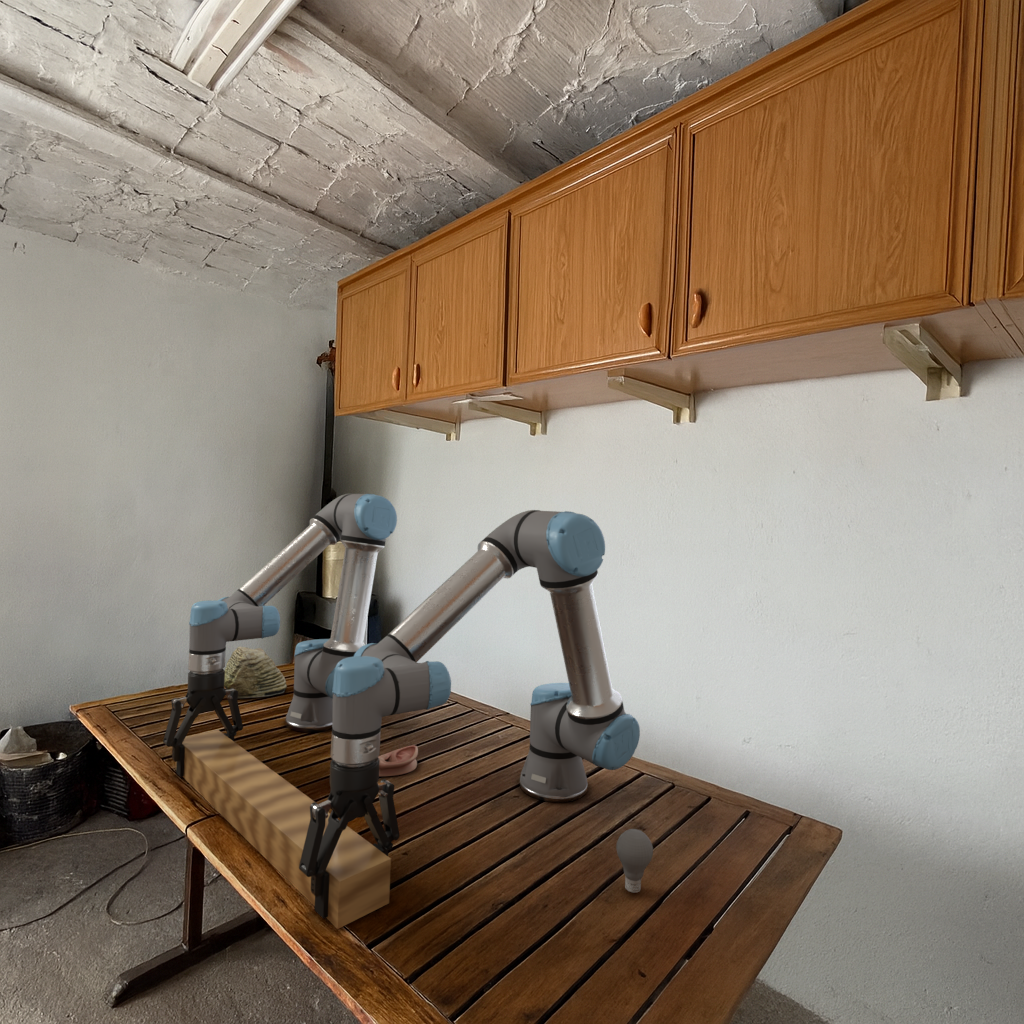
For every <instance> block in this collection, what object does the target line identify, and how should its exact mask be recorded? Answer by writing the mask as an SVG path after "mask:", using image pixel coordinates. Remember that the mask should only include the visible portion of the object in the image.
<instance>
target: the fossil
mask: <svg viewBox="0 0 1024 1024" xmlns="http://www.w3.org/2000/svg"><path fill="white" fill-rule="evenodd" d="M224 671H225V682H224V689H225V690H230V689H231V688H234V689H235V690H237V691H238V698H237V699H250V698H264V697H271V696H275V695H281V694H284V693H285V691H286V689H287V687H288V686H287V680H286V678H285V676H284V674H283V673H282V672H281V669H279V668H278V667H277V665H276V663H275V662H274V660H273V659H272V658H271V657H270V656H269V655H268V654H267V653H266V652H265V650H264V649H263V648H260V647H258V648H251V647H247V646H246V647H245V646H238V647H237V648H236V649H235V650H233V651H232V653H231V656H230V657H229V659H228V660H227V663H226V664H225V667H224Z"/></svg>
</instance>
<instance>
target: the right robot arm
mask: <svg viewBox="0 0 1024 1024" xmlns="http://www.w3.org/2000/svg"><path fill="white" fill-rule="evenodd" d="M605 555H606V541H605V537H604V534H603V531H602V530H601V527H600V526H599V524H598V523H597V522H596V521H595V520H594V519H592V518H591V517H589V516H587V515H585V514H582V513H577V512H574V511H567V510H565V511H556V510H555V511H554V510H540V509H531V510H529V509H528V510H525V511H522V512H519V513H516V514H515V515H513V516H511V517H509V518H508V519H507V520H505V521H504V522H502V523H501V524H499V526H497V527H495V528H494V529H493V530H492V531H491V532H489V533H488V534H487V536H485V537H484V538H483V539H482V540H481V541H479V543H478V544H477V551H476V552H475V553H473V555H472V556H471V557H470V558H468V559H467V561H465V562H464V563H463V564H462V565H461V566H460V567H459V568H458V569H457V570H456V571H454V572H453V573H452V575H450V576H449V577H448V578H447V579H446V580H445V581H444V582H442V584H441V585H440V586H439V587H437V588H436V589H435V590H434V591H433V592H432V593H431V594H430V595H429V596H428V597H427V598H426V599H424V600H423V601H422V602H421V604H419V605H418V606H417V607H416V608H414V610H413V611H412V612H411V613H409V614H408V615H407V616H406V617H405V618H404V619H403V620H402V621H401V622H399V623H398V624H397V625H396V626H395V627H394V628H393V629H392V630H391V631H390V632H389V633H388V634H387V635H385V637H383V638H382V639H381V640H380V641H379V642H378V643H376V642H375V643H374V642H371V643H367V644H366V643H365V645H364V646H362V647H360V648H359V649H358V650H357V651H356V653H355V655H354V657H348V658H345V659H342V660H341V661H339V662H338V663H337V665H336V668H335V674H334V681H333V688H332V693H333V715H332V729H331V739H330V759H331V760H330V764H329V786H330V788H329V789H330V792H329V794H328V796H327V799H326V800H324V801H322V802H319V803H317V802H316V801H314V803H312V804H311V805H310V818H311V819H310V823H309V827H308V831H307V835H306V839H305V843H304V848H303V852H302V856H301V860H300V864H299V869H300V870H301V871H302V872H303V873H304V874H305V875H306V876H307V877H311V892H312V894H313V895H314V896H315V907H314V911H315V912H316V914H318V915H319V916H320V917H321V918H322V919H323V920H324V919H327V918H326V917H328V900H329V873H328V872H327V871H326V868H327V866H328V864H329V861H330V859H331V857H332V854H333V852H334V850H335V847H336V845H337V842H338V840H339V838H340V835H341V833H342V831H343V830H345V829H346V827H347V826H348V824H349V823H350V822H352V821H354V820H356V819H359V818H364V820H365V822H366V824H367V826H368V828H369V830H370V832H371V834H372V836H373V838H374V840H375V842H376V843H373V844H372V845H373V846H375V847H376V848H377V849H379V850H380V851H381V852H383V853H384V854H385V855H387V856H388V857H389V851H391V850H392V849H393V847H394V843H392V842H393V841H398V840H399V838H400V836H401V835H400V829H399V824H398V818H397V812H396V805H395V800H394V794H395V784H393V783H392V782H390V781H389V780H387V779H386V778H383V779H381V780H380V776H379V765H380V760H379V758H378V756H380V754H381V735H382V734H381V731H382V720H383V717H390V716H394V715H400V714H407V713H412V712H418V711H423V710H427V711H428V710H430V709H432V708H436V707H439V706H443V705H445V704H446V703H447V702H448V701H449V699H450V696H451V693H452V678H451V675H450V672H449V669H448V668H447V666H446V664H444V663H443V662H442V661H434V660H433V661H429V660H426V661H423V662H419V660H421V659H422V658H423V657H424V656H425V655H426V654H427V653H428V652H429V651H430V650H431V649H432V648H433V647H434V646H436V644H437V643H438V642H440V641H441V640H442V638H443V637H445V635H446V634H448V633H449V631H450V630H451V629H453V627H455V626H456V625H457V624H458V623H459V622H460V621H461V620H462V619H463V618H464V617H465V616H466V615H467V614H468V613H469V612H470V611H471V610H472V609H473V608H475V606H476V605H477V604H479V602H480V601H482V599H483V598H484V597H486V596H487V595H488V594H489V593H490V592H491V590H493V589H494V587H496V586H497V585H498V584H499V583H500V582H501V581H502V580H503V579H511V578H512V577H513V576H514V575H515V574H516V573H518V571H520V570H522V569H525V568H530V567H531V568H535V569H536V571H537V572H536V573H537V577H538V581H539V585H540V587H541V588H542V589H544V590H546V591H547V592H549V595H550V600H551V604H552V609H553V614H554V619H555V624H556V628H557V633H558V638H559V643H560V648H561V653H562V658H563V662H564V667H565V673H566V677H567V681H568V682H551V683H549V682H548V683H544V684H540V685H538V686H536V687H535V688H534V689H533V690H532V693H531V702H530V717H529V718H530V720H529V747H528V748H529V749H528V753H527V756H526V759H525V761H524V764H523V766H522V768H521V771H520V775H519V776H520V777H519V787H520V790H522V791H523V792H524V794H526V795H528V796H530V797H532V798H533V799H537V800H539V801H544V802H550V803H551V802H552V803H567V802H572V801H576V800H578V799H581V798H583V797H584V796H585V795H586V794H587V792H588V777H587V774H586V770H585V766H584V762H583V760H585V761H587V762H589V763H590V764H592V765H594V766H595V767H600V768H603V769H605V770H607V771H615V770H619V769H621V768H622V767H624V766H625V765H626V764H627V763H628V762H629V761H630V760H631V759H632V757H633V755H634V754H635V751H636V750H637V747H638V745H639V743H640V737H641V736H640V735H641V729H640V724H639V721H638V720H637V719H636V718H635V716H633V715H632V714H630V713H626V711H625V707H624V702H623V697H622V694H621V693H620V692H619V691H618V690H616V689H614V687H613V684H612V678H611V674H610V668H609V663H608V658H607V653H606V648H605V642H604V638H603V632H602V627H601V623H600V617H599V612H598V611H599V610H598V606H597V602H596V596H595V591H594V585H593V583H594V582H595V580H596V579H597V578H598V576H599V571H598V570H599V569H600V567H601V566H602V564H603V562H604V559H603V557H604V556H605ZM379 780H380V782H379ZM377 796H378V801H379V806H380V813H381V817H382V822H381V820H380V818H379V816H378V812H377V809H376V807H375V805H374V801H375V800H376V798H377ZM330 810H331V812H329V811H330ZM328 812H329V813H330V816H329V818H328ZM326 818H328V825H327V828H326V830H325V832H324V828H325V823H326ZM382 823H383V824H382ZM323 833H324V835H323Z"/></svg>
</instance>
